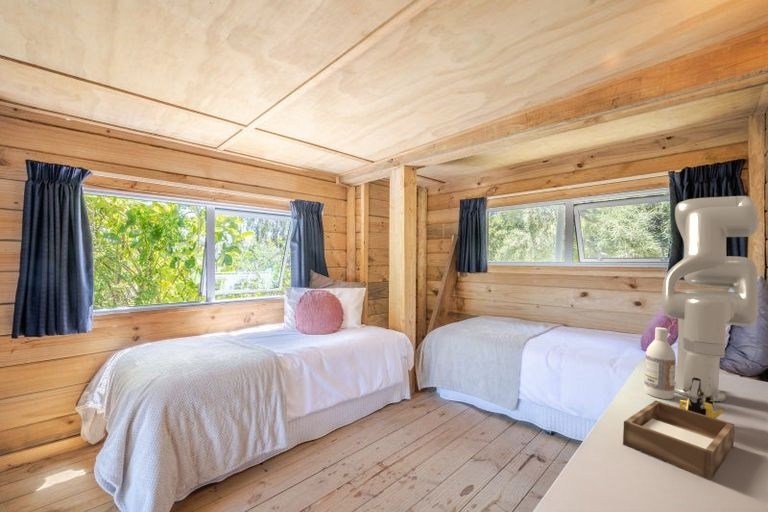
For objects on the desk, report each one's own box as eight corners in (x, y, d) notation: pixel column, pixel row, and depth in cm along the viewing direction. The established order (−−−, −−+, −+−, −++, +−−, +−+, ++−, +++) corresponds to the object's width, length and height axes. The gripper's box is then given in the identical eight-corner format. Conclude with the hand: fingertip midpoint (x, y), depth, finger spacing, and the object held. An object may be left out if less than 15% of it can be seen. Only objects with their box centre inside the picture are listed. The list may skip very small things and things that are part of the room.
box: (654, 420, 86) (655, 400, 86) (733, 447, 75) (734, 424, 75) (622, 444, 75) (623, 421, 74) (710, 480, 63) (711, 453, 63)
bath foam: (668, 401, 98) (671, 331, 98) (640, 393, 104) (643, 326, 103) (677, 396, 102) (680, 329, 101) (649, 388, 107) (652, 324, 107)
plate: (651, 427, 81) (652, 418, 81) (715, 449, 72) (716, 440, 72) (637, 438, 75) (637, 429, 75) (704, 464, 66) (705, 454, 66)
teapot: (721, 421, 85) (722, 401, 85) (723, 431, 81) (724, 409, 81) (679, 411, 91) (680, 391, 90) (678, 419, 86) (679, 399, 86)
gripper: (693, 338, 93) (690, 403, 94) (673, 349, 83) (669, 422, 84) (732, 345, 87) (728, 415, 88) (715, 357, 77) (711, 436, 78)
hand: (700, 418), depth 86 cm, fingers closed on teapot, 6 cm apart
